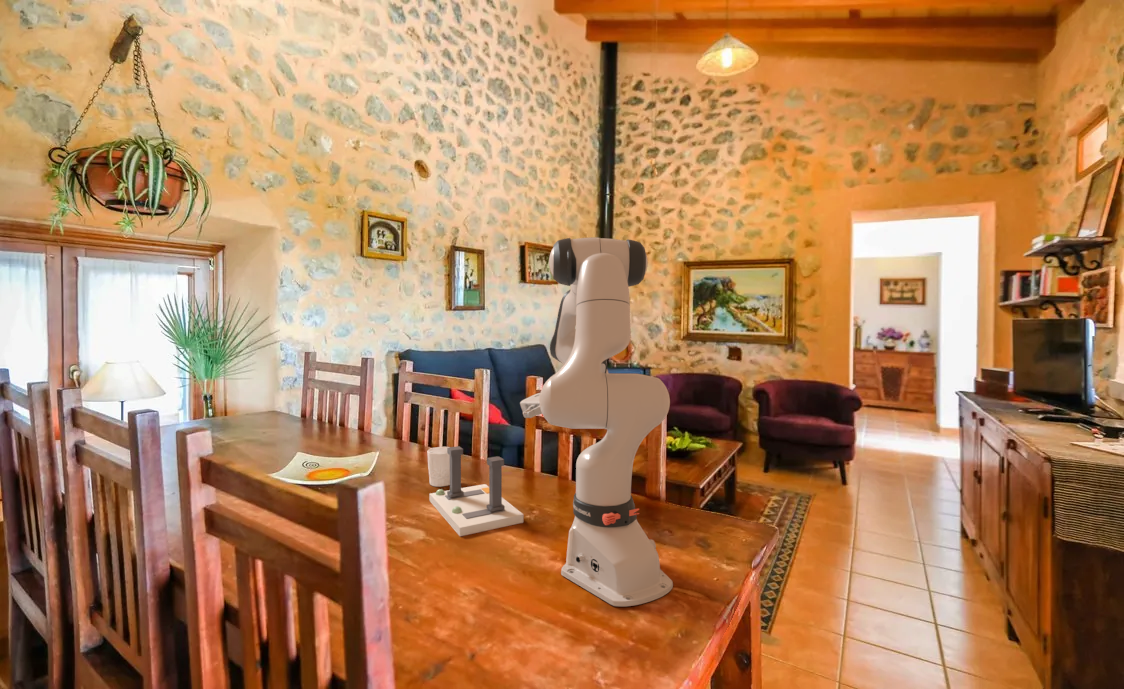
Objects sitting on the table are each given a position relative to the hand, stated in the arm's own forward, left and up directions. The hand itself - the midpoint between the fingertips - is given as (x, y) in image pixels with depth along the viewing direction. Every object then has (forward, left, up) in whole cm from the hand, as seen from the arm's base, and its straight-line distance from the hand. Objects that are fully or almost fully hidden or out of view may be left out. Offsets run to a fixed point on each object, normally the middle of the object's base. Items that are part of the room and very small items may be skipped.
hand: (526, 415), depth 140 cm
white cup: (+23, +17, -23) cm, 36 cm away
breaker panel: (-3, +16, -23) cm, 28 cm away
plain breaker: (-10, +13, -20) cm, 26 cm away
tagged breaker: (+5, +19, -20) cm, 28 cm away
